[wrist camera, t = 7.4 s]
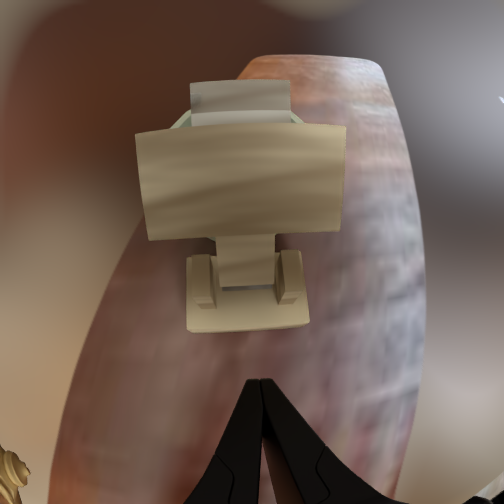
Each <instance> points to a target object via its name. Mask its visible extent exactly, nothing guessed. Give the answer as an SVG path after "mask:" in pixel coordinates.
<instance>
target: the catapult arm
mask: <svg viewBox="0 0 504 504" xmlns="http://www.w3.org/2000/svg"><path fill="white" fill-rule="evenodd" d="M190 99H191V123H192V127H182V128H173V129H165V130H158V131H151V132H144V133H138V134H135V138H136V151H137V161H138V170H139V179H140V187H141V194H142V201H143V207H144V215H145V221H146V227H147V233H148V238H149V241H153V240H168V239H184V238H201V237H215V239H216V251H217V262H218V272H219V283H220V287H222V291H241V290H258V289H272V284H274V269H275V234H279V233H302V232H328V231H340V224H341V214H342V202H343V188H344V171H345V148H346V126H339V125H325V124H307V123H291V108H290V80H226V81H210V82H198V83H190Z"/></svg>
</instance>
